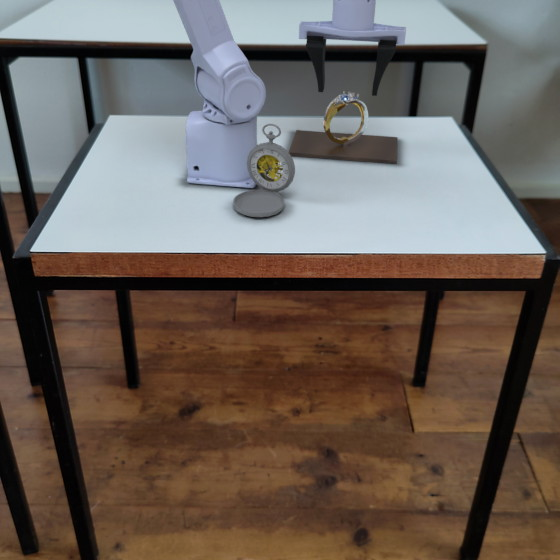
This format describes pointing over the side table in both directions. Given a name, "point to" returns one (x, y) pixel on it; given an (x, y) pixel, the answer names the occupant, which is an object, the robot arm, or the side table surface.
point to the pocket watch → (266, 178)
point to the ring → (333, 110)
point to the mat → (344, 147)
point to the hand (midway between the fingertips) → (347, 91)
